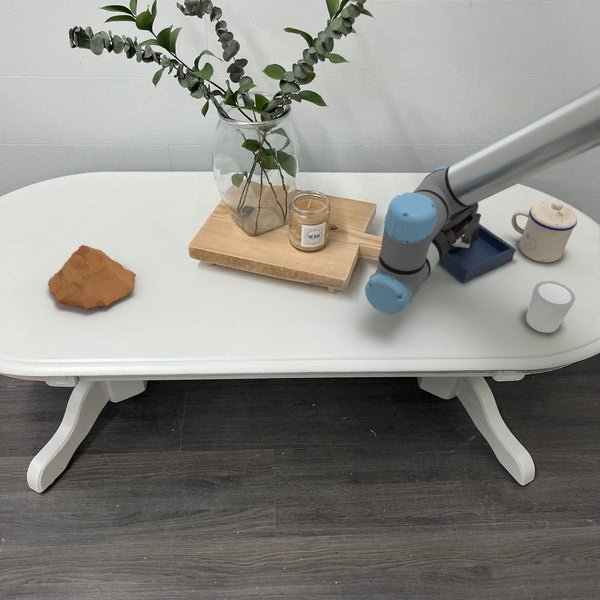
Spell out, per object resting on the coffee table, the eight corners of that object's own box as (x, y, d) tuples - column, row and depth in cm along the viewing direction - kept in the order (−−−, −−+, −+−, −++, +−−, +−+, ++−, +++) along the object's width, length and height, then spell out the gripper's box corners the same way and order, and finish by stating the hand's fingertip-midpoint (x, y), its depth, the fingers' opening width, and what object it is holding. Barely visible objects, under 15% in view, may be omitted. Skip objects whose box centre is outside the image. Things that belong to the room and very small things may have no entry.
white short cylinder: (534, 303, 107) (546, 274, 102) (568, 322, 104) (582, 293, 99) (515, 321, 104) (526, 292, 99) (550, 341, 100) (564, 312, 95)
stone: (43, 293, 109) (37, 241, 106) (119, 282, 117) (115, 234, 114) (64, 314, 98) (58, 257, 95) (146, 300, 106) (143, 247, 103)
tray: (512, 260, 117) (516, 249, 115) (463, 283, 111) (466, 271, 109) (452, 217, 127) (454, 206, 125) (404, 236, 122) (407, 224, 120)
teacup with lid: (568, 248, 120) (589, 201, 112) (554, 270, 115) (574, 222, 107) (513, 227, 125) (529, 180, 117) (497, 247, 120) (512, 199, 112)
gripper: (378, 252, 109) (428, 197, 124) (459, 284, 103) (501, 222, 118) (383, 220, 104) (435, 166, 119) (468, 251, 98) (511, 191, 112)
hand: (468, 194), depth 118 cm, fingers closed on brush, 3 cm apart
